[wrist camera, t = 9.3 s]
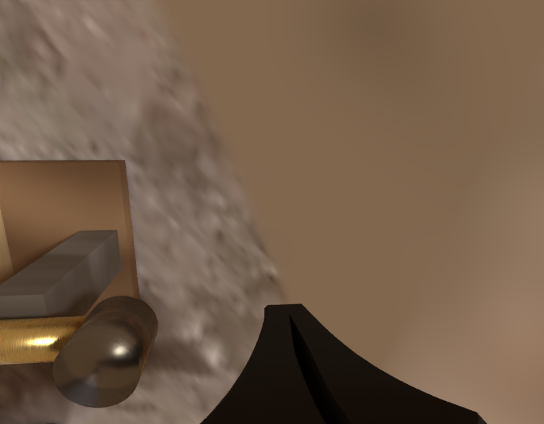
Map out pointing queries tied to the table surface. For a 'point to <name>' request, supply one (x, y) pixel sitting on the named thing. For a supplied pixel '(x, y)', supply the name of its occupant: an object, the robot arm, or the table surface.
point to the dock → (64, 237)
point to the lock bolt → (87, 349)
